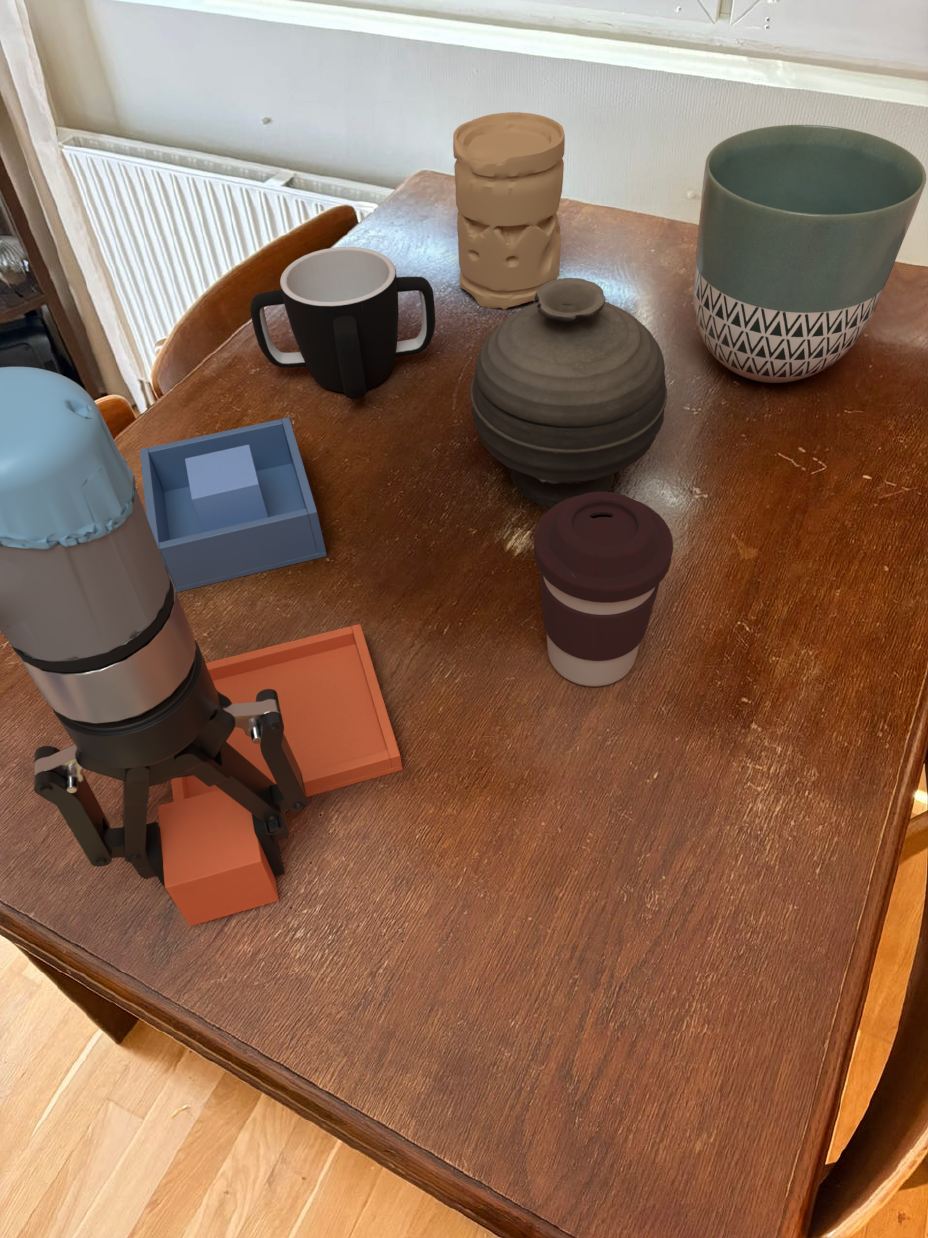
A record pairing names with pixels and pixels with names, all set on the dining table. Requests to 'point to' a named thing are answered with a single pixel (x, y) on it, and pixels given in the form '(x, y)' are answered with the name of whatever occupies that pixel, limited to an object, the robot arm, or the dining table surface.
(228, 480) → the blue block
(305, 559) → the blue bin
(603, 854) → the dining table surface
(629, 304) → the dining table surface
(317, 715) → the clay tray
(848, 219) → the planter
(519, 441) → the pot
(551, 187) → the container
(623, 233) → the dining table surface
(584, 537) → the coffee cup
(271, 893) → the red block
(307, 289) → the mug
